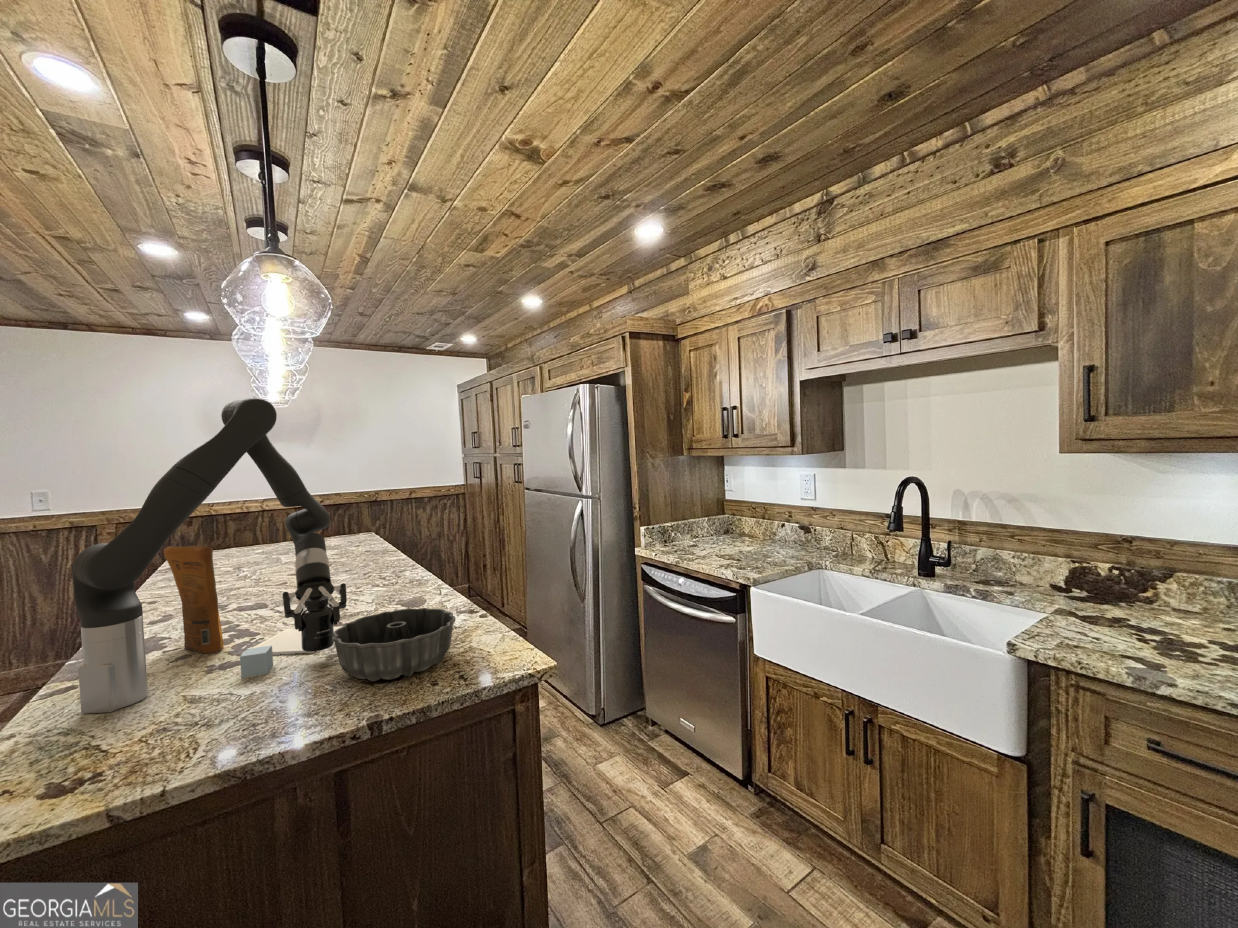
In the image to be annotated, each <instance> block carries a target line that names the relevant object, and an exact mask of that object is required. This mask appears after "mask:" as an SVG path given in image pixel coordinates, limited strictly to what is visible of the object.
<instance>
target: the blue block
mask: <svg viewBox="0 0 1238 928" xmlns="http://www.w3.org/2000/svg"><path fill="white" fill-rule="evenodd" d="M250 648H251V649H250ZM250 648H247V649H246V650H244V651H243V652H244V653H243V652H242V653H243V654H241V655H240V656H239V659H240V660H239V663H240V675H241V677H240V678H241V679H243V678H249V677H255V676H261V675H267V674H268V673H269V672H270V671H269V670H271V669H272V668H273V667H274V659H273V658H274V657H273V656H274V655H273V654H272V645H271V646H265V647H258V648H252V647H250ZM272 666H273V667H272Z"/></svg>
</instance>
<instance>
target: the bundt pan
mask: <svg viewBox="0 0 1238 928" xmlns="http://www.w3.org/2000/svg"><path fill="white" fill-rule="evenodd" d="M455 622H456V616H455V615H454V612H452V611H447V610H446V609H444V608H429V607H421V608H402V609H396V610H391V611H382V612H379V613H376V614H370V615H366V616H362V617H359V618H357V619H355V620H353V621H350V622H347V623H344V624H343V625H342V626H343V627H341V628H339V629H337V630H335V631H334V633H333V636H334V637H333V638H332V641H334V645H335V650H336V654H337V655H336V656H337V658H338V663H339V666H340V668H341V669H342V671H343V672H345V673H346V674H348V675H349V676H350V675H351V676H353V677H354V678H356V679H359V680H369V681H370V682H377V681H379V680H381V679H383V680H388V681H389V680H394V679H397V678H399V677H400V676H405V677H407V678H409V677H411V676H412V675H413V674H414V673H415V672H417V673H420V672H423V671H427V670H428V669H429V668H430V667H432V666H436V665H438V664H439V663H440V662H442V661H443V659H444V657H445V656H446V654H447V653H448V651H449V649H450V647H451V644H452V635H453V628H454V623H455Z"/></svg>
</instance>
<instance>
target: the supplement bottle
mask: <svg viewBox="0 0 1238 928" xmlns="http://www.w3.org/2000/svg"><path fill="white" fill-rule="evenodd" d="M328 604H329V602H328V596H316V597H311V598H308V599H306V605H305V607H306V609H305V610H304V612H302V614H301V620H302V631H301V641H302V649H303V650H304V651H307V652H314V651H315V652H318V651H323V650H326V649H329V648H331V647H333V645H335V642H334V641H332V638H333V637H334V636H333V633H334V627H335V625H334V622H333V610H332V608H330V607H328ZM315 652H314V653H315Z"/></svg>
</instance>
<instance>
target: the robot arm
mask: <svg viewBox="0 0 1238 928" xmlns="http://www.w3.org/2000/svg"><path fill="white" fill-rule="evenodd" d="M277 414H278V413H277V410H276V408H275V406H274V405H273V403H271V402H269V400H266V399H262V398H255V397H253V398H250V397H249V398H243V399H236V400H232V401H230V402H227V403H226V404H225V405H224V406H223V408H222V411H221V420H222V423H223V425H224V426H222V428H221V430H219V432H218V433H217V434H215V435H214V436H213V437H212V438H210V439H209V440H208V441H205V442H204V443H203V444H202V445H200V446H198V447H196V448H195V449H193V450H192V451H190V452H189V453H187V454H186V455H185V456H183V457H182V458H180V459H179V460H178V461H177V462H175V464H173V465H172V466H171V467H170V468H169V469H168V471H166V472H165V474H163V475H162V476H161V478H159V480H158V481H156V483H155V485H153V487H152V488H151V489H150V492H149V493H148V495H147V497H146V499H145V500H144V503H143V505H142V507H141V508H140V510H139V512H138V513H137V515H136V516H135V517H134V519H133V520H132V521H131V522H130V523H129V524H128V525H127V526H126V527H125V528H124V529H123V530H122V531H121V532H120V533H119V534H118V535H117V536H115V537H114V538H113V539H112V540H111V541H109V542H103V543H97V544H93V545H91V546H89V547H87V548H85V549H84V550H82V551H81V552H80V553H79V554H78V555H77V556H76V558H75V559H74V561H73V564H72V565H73V566H72V574H71V575H72V585H73V595H74V603H75V609H76V612H77V615H78V618H79V622H80V635H81V652H82V665H80V666H78V669H77V670H78V671H77V672H78V685H79V698H80V699H79V700H80V711H81V714H98V713H99V714H100V713H112V712H114V711H117V710H120V709H122V708H125V707H128V706H131V705H134V704H136V703H138V702H140V701H142V700H144V699H146V698H147V697H148V695H149V687H148V675H147V659H146V645H145V629H144V616H143V614H144V613H143V604H142V601H141V600H140V599H139V597H138V595H137V592H136V587H135V582H136V581H137V580H138V579H139V578H141V576H142V575H143V573H144V572H145V571H146V569H147V568H148V567H149V566H150V564H151V563H152V562H153V560H154V558H155V557H156V555H157V554H158V553H159V552H160V550H161V549H162V548H163V546H164V545H165V543H166V542H167V541H168V540H169V539H170V537H171V536H172V535H173V534H174V533H175V532H176V531H177V530H178V529H179V528H180V527H181V526H182V525H183V523H185V522H186V520H188V519H189V518H190V516H192V514H193V513H194V512H195V511H196V510H197V509H198V507H200V506H201V505H202V504H203V503H204V501H205V500H207V498H208V497H209V496H211V494H212V492H213V491H214V490H216V488H217V487H218V486H219V484H220V483H221V482H222V481H223V479H224V478H226V476H227V475H228V474H229V473H230V471H231V470H232V469H233V468H234V467H235V466H236V464H238V462H239V461H240V460H241V458H242V457H243V456H245V454H248V456H249V457H250V459H252V461H253V462H254V464H255V465H256V466H257V468H258V469H259V471H260V472H261V473H262V475H263V477H264V478H265V480H266V481H267V483H268V485H269V487H270V488H271V490H272V492H273V493H274V495H275V497H276V499H277V500H278V502H279V503H280V505H281V506H282V507H283V508H293V507H301V508H303V509H301V510H299V511H295V512H292V513H290V514H288V516H287V517H286V519H285V523H284V524H285V525H284V526H285V528H286V530H287V533H288V534H289V535H290V538H291V541H292V542H293V543H292V544H293V545H294V552H295V561H294V563H295V565H294V566H295V567H294V568H295V571H294V573H295V580H296V590H295V591H293V592H288V591H283V593H282V603H283V604H282V605H283V612H284V617H285V618H286V619H289V618H293V620H294V621H293V622H294V628H295V629H296V630H298V631H302V620H301V614H302V613H303V612H304V611H305V610H306V609H307V608H306V607H305V605H306V599H308V598H311V597H316V596H328V602H329V604H328V607H330V608H332V610H333V623H334V626H337V625H338V623H340V620H341V613H340V611H341V610H342V609H343V610H344V609H346V608H347V602H348V601H347V600H348V598H347V584H346V583H345V582H343V583H341V584H340V585H334V584H333V583H332V578H331V571H330V564H329V563H330V562H329V557H328V554H327V548H326V547H327V546H326V540H325V537H324V536H323V535H322V534H321V533H318V532H319V531H322V530H325V529H327V528H328V527H329V526H330V523H331V516H330V514H329V512H328V510H327V509H326V508H325V507H324V506H323V505H322V504H321V503H320V502H318V501H317V500H316V498H315V497H314V496H313V495H312V494H311V493H310V492H309V491H308V489H307V488H306V486H305V484H304V482H303V479H302V478H301V477H300V475H299V473H298V472H297V470H296V469H295V468H294V467H293V465H292V464H291V463H290V462H289V461H288V460H287V459H286V458H285V457H284V456H283V455H282V454H281V453H280V452H279V451H278V450H277V449H276V447H275V446H274V444H273V443H272V442H271V440H270V439H269V437H268V433H269V432H270V431H272V429H273V428H274V426H275V425H276V422H277V418H278V417H277V416H278V415H277ZM334 592H336V594H337V595H338V596H340V597H339V598H340V601H337V600H336V599H335V597H334V596H333V593H334ZM295 598H296V600H298V604H297V606H296V607H295V609H292V608H291V603H292V602H293V601H294V599H295Z"/></svg>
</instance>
